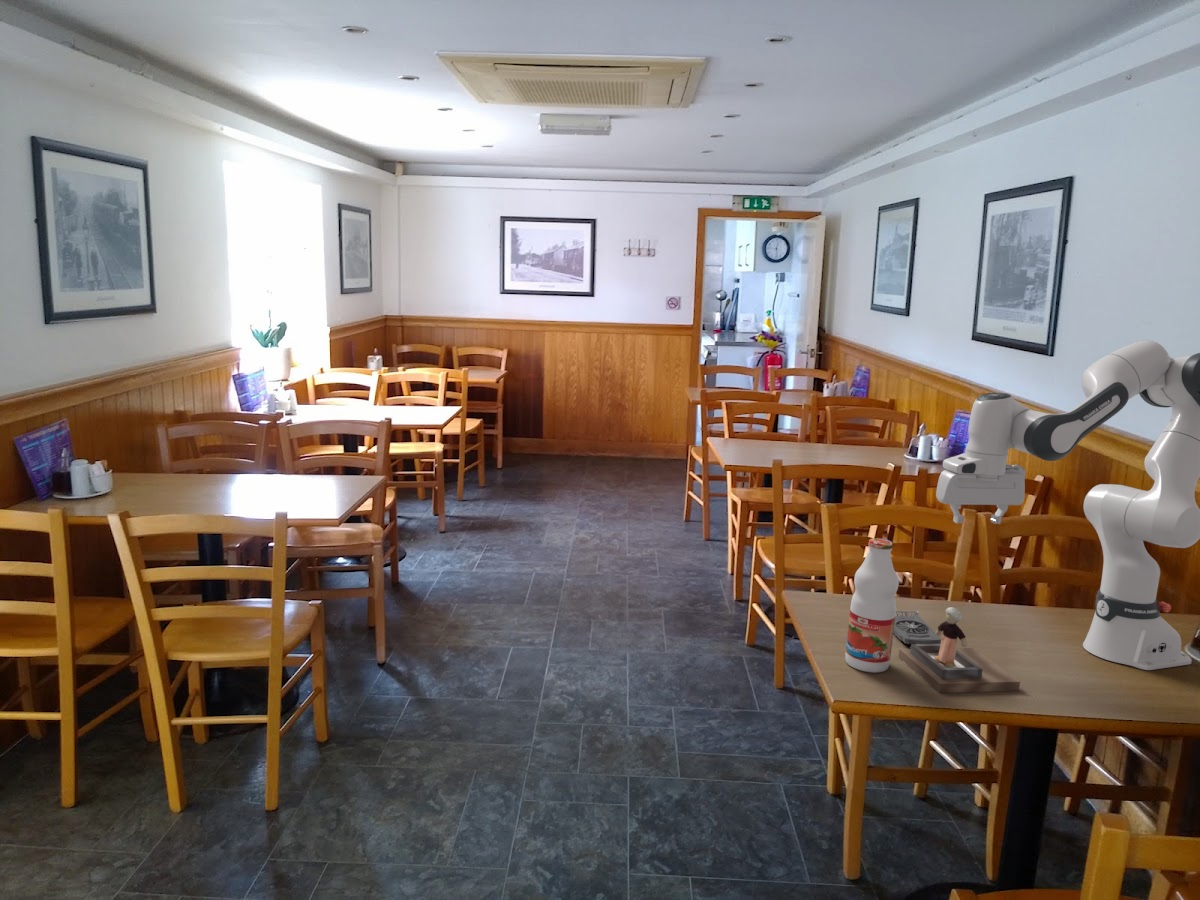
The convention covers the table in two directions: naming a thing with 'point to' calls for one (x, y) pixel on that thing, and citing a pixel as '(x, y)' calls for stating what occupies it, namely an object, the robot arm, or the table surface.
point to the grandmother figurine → (950, 637)
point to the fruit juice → (873, 610)
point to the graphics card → (914, 629)
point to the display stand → (958, 670)
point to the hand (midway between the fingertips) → (976, 522)
